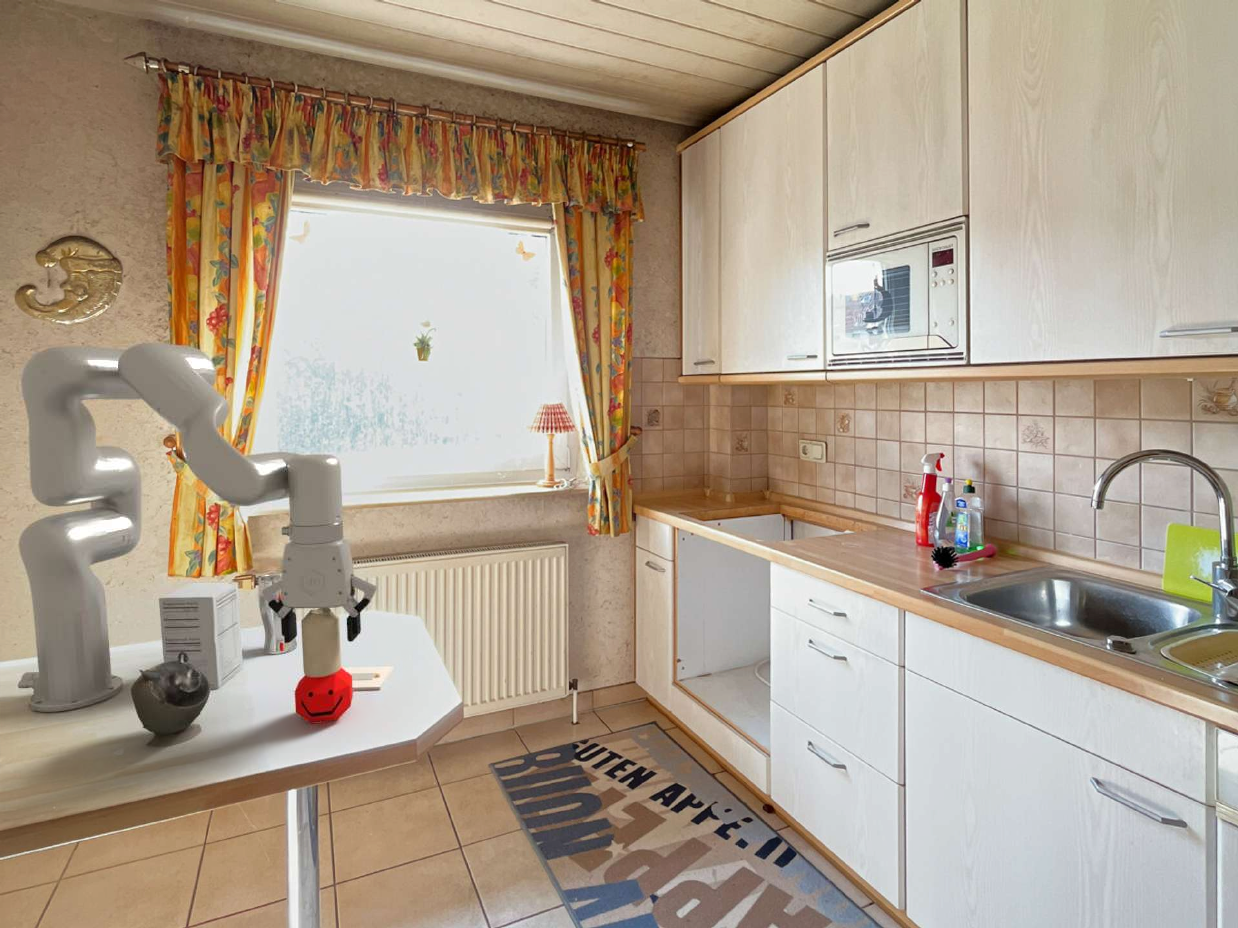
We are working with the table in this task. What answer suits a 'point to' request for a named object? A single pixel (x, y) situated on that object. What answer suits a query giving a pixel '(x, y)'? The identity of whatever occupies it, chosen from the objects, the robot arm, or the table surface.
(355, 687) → the card
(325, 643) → the candle
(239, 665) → the supplement box
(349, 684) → the ball
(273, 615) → the beer glass
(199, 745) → the table surface
